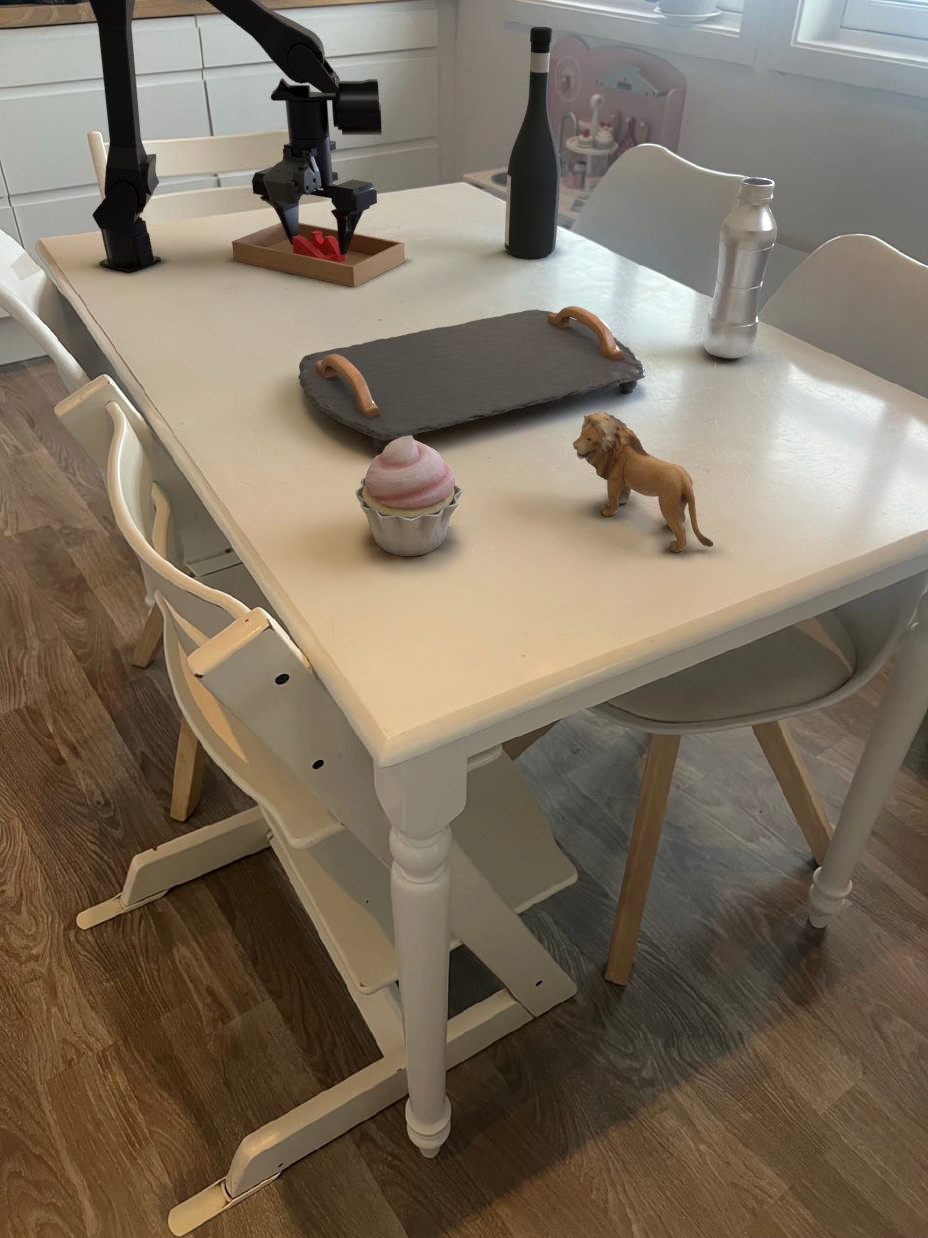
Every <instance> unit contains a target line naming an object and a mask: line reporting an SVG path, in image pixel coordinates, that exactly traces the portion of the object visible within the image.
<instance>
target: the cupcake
mask: <svg viewBox="0 0 928 1238" xmlns="http://www.w3.org/2000/svg"><path fill="white" fill-rule="evenodd" d="M360 484H361V487H359V488H357V489H356V491H355V492H354V494H355V496H356V498H357V500H358V502H359V504H360V505H359V506H360V508H361V510H362V511H363V513H364V514H365V515H366V518H367V521H368V525H369V529H370V530H371V533H372V537H373V540H374V541H375V543H376V545H378V547H380V549H382V550H383V551H385V552H387V553H389V554H392V555H397V556H401V557H415V556H423V555H426V554H429V553H431V552H433V551H435V550H437V549H438V548H439V547H440V546H441V545H442V544H443V542H444V541H445V539H446V537H447V534H448V530H449V525H450V520H451V517H452V515H453V513H454V512H455V510H456V509H457V507H458V506H459V499H460V497H461V495H462V494H463V492H464V490H465V489H464V488H463V487H461V486H460V485H457V484H456V475H455V471H454V470H453V468H452V467H451V466H450V464H448V463H447V462H446V461H445V460H444V459H443V458H442V456H441V454H440V453H439V452H438V451H437V450H436V449H434V448H433V447H431V446H428V445H427V444H424V443H422V442H420V441H417V440H415V439H414V436H413V435H412V436H405V437H404V436H403V437H401V438H398V439H395V440H394V441H392V442H391V443H389V444H388V445H387V446H386V447H385V449H384V450H383V452H382V454H378V455H376V456H375V457H374V458H373V460H372V461H371V463H370V464H369V467H367V471H366V473H365V476H364V478H361V480H360Z"/></svg>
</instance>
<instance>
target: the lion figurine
mask: <svg viewBox="0 0 928 1238" xmlns="http://www.w3.org/2000/svg"><path fill="white" fill-rule="evenodd" d="M583 419H584V420H583V424H582V426H581V432H580V435H579V437H578V438H577V439H575V440H574V441H573V442H572V447H573V449H574V450H575V451H576V457H577V458H578V459H579V460H584V459H585V460H586V462H587V464H589V465H590V466H592V467H593V468H595V474H596V475H597V476H598V477H599V478H602V479H603V480H604V481H606V490H607V497H608V500H609V501H608V503H609V505H604V506H602V507H601V513H602V515H603V516H609V517H610V516H613V515H615V514H617V513H618V511H619V509H620V504H626V503H627V502H629V500H630V495H631V491H632V490H633V491H634V492H636V493H638V494H640V495H641V496H644V497H649V498H650V497H651V498H653V497H654V498H655V497H656V498H657V497H658V498H657V499H658V500H657V501H658V505H659V509H660V512H661V514H662V518H663V519H664V521H665V522H666V524H667V526H668V527H669V528H670V529H671V531H672V533H673V534H674V536H675V540H674V539H673V540H671V541H670V544H669V549H670V550H671V551H672V552H675V553H679V552H681V551H683V550H684V549H685V547H686V545H687V533H686V532H687V531H686V527H685V526H684V523H685V522H686V519H687V518H686V513H685V512H686V508H687V507H688V514H689V518H690V524H691V529H692V531H693V534H694V535H695V537H696V539H697V540H698V542H699V543H700V544H701V545H702V546H704V547H708V548H712V547H713V546H714V542H713V541H712V540H710V539H709V538H708V537H707V536H705V535H704V534H702V533H701V531H700V529H699V525H698V520H697V513H696V512H697V509H696V498H695V494H694V487H693V486H694V483H693V482H694V481H693V479H692V477H691V475H690V473H689V472H688V471H687V470H686V468H685V467H683V466H681V465H680V464H677V463H672V462H667V461H665V460H662V459H660V458H657V457H655V456H653V455H652V454H650V453H648V452H647V451H646V450H645V449H644V447H643V445H642V443H641V440H640V438H639V437H638V436H637V434H636V433H635V432H634V430H632V429H630V428H629V427H628V425H627V424H626V423H624V422H622V421H621V419H619V418H616V417H615V416H614V414H613V415H612V414H609V413H607V412H603V411H595V412H593V413H588V414H585V415H583Z"/></svg>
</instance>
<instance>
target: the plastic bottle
mask: <svg viewBox="0 0 928 1238" xmlns="http://www.w3.org/2000/svg"><path fill="white" fill-rule="evenodd" d="M774 188H775V181H774V180H773V179H772V180H771V179H769V178H764V177H746V178H743V179H742V180H741V182H740V188H739V192H738V194H737V199H738V200H739V202H738V203H737V205H736V206H735V207H734V208H733V209H732V210H731V211H730V212H729V214H727V216H726V218H725V219H724V220H723V223H722V225H721V227H720V229H719V244H718V245H719V247H718V266H717V272H716V275H717V277H716V283H715V288H714V292H713V296H712V300H711V304H710V308H709V312H708V315H707V316H706V319H705V322H704V325H703V329H702V345H703V347H704V349H705V351H706V352H707V353H708V354H710V355H712V356H715V357H717V358H718V357H719V358H723V359H738V358H743V357H745V356H747V355H748V354H749V353H750V352H751V351H752V349H753V347H754V345H755V342H756V339H757V336H758V312H759V304H760V296H761V290H762V286H763V281H764V278H765V274H766V269H767V267H768V263H769V260H770V257H771V254H772V251H773V248H774V246H775V243H776V239H777V236H778V227H777V222H776V219H775V217H774V214H773V211H772V210H771V208H770V203H771V202H772V201H773V198H774V195H773V194H774Z"/></svg>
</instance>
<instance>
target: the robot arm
mask: <svg viewBox="0 0 928 1238" xmlns="http://www.w3.org/2000/svg"><path fill="white" fill-rule="evenodd" d="M205 1H206V2H207V3H208V4H210V5H211V6H212V7H213V8H215V9H216V10H217V11H218V12H220V13H221V14H222V15H224V16H225V17H227V19H229V20H230V21H232V22H233V23H234V24H235V25H237V26H238V27H239V28H241V30H243V31H244V32H246V33H247V34H248V35H250V36H251V37H252V38H253V39H254V40H255V41H256V43H257V44H258V45H259V46H260V47H261V48H262V50H263V51H264V52H265V53H266V55H267V56H268V57H269V58H270V60H272V62H273V63H274V64H275V65H276V66H277V67H278V68H279V69H280V71H282V73H283V74H284V75H286V77H287V78H288V79H290V80H291V81H292V82H294V83H297V84H289V82H287V80H285V78H283V77H281V78H280V79H279V83H278V85H277V86H276V87H275V89H273V91H272V92H271V94H270V100H271V101H273V102H285V111H286V123H287V134H288V143H285V144H283V148H282V160H281V161H279V162H277V163H276V164H274V165H273V166H271V167H267V168H265V169H262V170H258V171H255V172H254V174H253V176H252V179H251V186H252V187H251V188H252V193H253V194H254V195H258V196H259V198H260V200H261V201H263V202H265V203H267V204H268V205H269V206H270V207H272V209H274V211H275V213H276V215H277V217H278V219H279V220H280V221H279V222H280V223H282V225H283V228H284V230H285V232H286V234H287V237H288V239H289V241H290V243H291V245H293V242H292V237H294V236H298V223H300V221H299V219H300V217H299V216H300V215H299V214H300V200H301V198H302V196H304V195H306V196H310V195H311V196H315V197H320V198H326V199H330V201H331V205H333V207H334V209H332V210H330V212H331V214H332V216H333V217H334V218H335V220H336V228H337V229H336V230H338V244H339V250H340V255H345V254H346V253H347V250H348V248H349V245H350V242H351V239H352V237H353V234H354V233H355V231H356V229H357V226H358V223H359V222H360V220H361V217H362V215H363V213H364V211H366V210H369V209H370V207H371V206H374V205H376V204H378V192H377V187H376V186H375V185H374V184H373V182H369V181H364V180H358V179H353V178H352V179H350V180H347V181H345V182H342V183H339V184H334V182H336V181H339V172H336V171H333V164H332V163H333V162H332V151H334V150H337V141H336V140H331V136H330V120H329V106H328V101H329V102H330V101H331V108H332V109H331V110H332V123H333V128H337V131H341V135H342V136H382V135H383V131H382V107H381V105H382V104H381V102H380V95H379V94H380V93H379V90H380V89H379V80H378V79H377V78H368V79H365V80H341V79H340V77H339V76H338V73H337V71H335V69H334V68H333V67H332V66H331V65H330V63H329V62H328V60H327V59H326V57H325V56H326V55H325V54H326V53H325V47H324V44H323V42H322V40H321V38H320V37H319V36H318V35H317V34H316V33H315V32H314V31H312V30H311V29H309V28H307V27H305V26H304V25H302V24H300V23H298V22H296V21H294V20H293V19H291V18H288V17H286V16H284V15H282V14H280V13H278V12H276V11H274V10H272V9H271V8H269V7H267V6H266V5H265V4H264V3H262V2H261V1H260V0H205ZM88 3H89V5H90V7H91V10H92V13H93V15H94V18H95V19H96V20H95V21H96V24H97V31H98V37H99V39H98V41H99V49H100V58H101V69H102V79H103V88H104V98H105V108H106V119H107V128H108V129H107V130H108V137H109V145H108V151H107V157H106V158H107V159H106V163H105V173H104V175H105V176H104V187H103V189H104V199H103V200H102V201H101V202H100V204H99V205H98V206H97V207H96V209H95V210H94V212H93V213H92V215H91V216H92V218H93V220H94V222H95V223H96V224H97V227H98V228H99V230H100V232H101V237H102V242H103V246H104V251H105V256H106V258H105V259H102V260H100V261H99V266H101V267H105V268H111V269H113V270H117V271H122V272H126V273H133V272H136V271H139V270H142V269H144V268H147V267H149V266H151V265H154V264H157V263H160V262H161V261H162V259H161V257H160V256H157V255H154V253H153V252H154V251H153V247H152V242H151V235H150V233H149V231H148V227H147V221H146V220H144V219H143V218H142V217H141V214H143V213H144V209H145V208H146V206H147V205H148V203H149V201H151V198H152V197H153V195H154V192H155V190H156V189H157V187H158V185H159V184H160V180H159V179H158V176H157V172H156V171H157V170H156V168H157V167H156V166H157V154H156V153H151V154H150V153H148V154H147V152H146V148H145V147H144V144H143V140H142V136H141V121H140V112H139V110H140V109H139V100H138V87H137V74H136V65H135V64H136V63H135V52H134V40H133V39H134V38H133V17H134V10H135V6H136V0H88ZM310 85H311V86H312V87H314V88H315V89H316V90H318V91H311V86H310Z"/></svg>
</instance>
